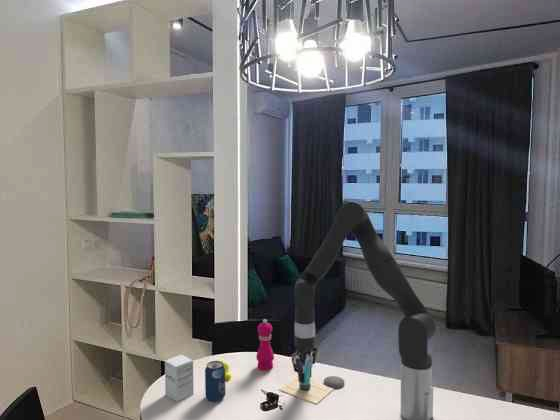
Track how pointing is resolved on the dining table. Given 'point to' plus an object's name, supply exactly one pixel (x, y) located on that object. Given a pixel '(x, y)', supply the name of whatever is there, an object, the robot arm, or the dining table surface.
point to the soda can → (215, 381)
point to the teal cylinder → (306, 377)
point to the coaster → (334, 382)
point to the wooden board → (312, 395)
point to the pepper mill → (265, 347)
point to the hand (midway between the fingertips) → (305, 379)
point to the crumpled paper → (226, 371)
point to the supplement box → (179, 377)
